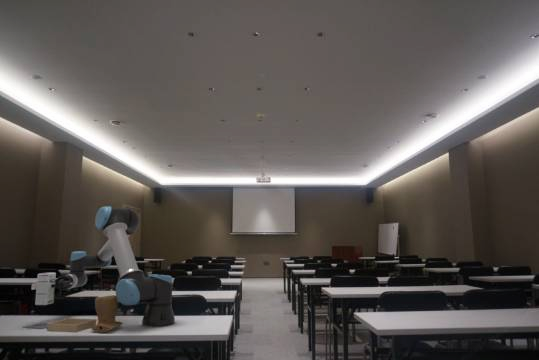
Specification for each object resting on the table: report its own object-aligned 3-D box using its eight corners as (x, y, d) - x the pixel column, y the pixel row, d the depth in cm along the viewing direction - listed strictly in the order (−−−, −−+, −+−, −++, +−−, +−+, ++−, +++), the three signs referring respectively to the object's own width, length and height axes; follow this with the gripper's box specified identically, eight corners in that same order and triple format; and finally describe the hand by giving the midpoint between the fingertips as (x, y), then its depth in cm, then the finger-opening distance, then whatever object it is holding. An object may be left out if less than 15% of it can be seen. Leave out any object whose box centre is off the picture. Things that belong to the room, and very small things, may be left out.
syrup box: (46, 305, 176) (49, 273, 179) (34, 305, 176) (37, 273, 179) (53, 303, 182) (56, 272, 184) (41, 303, 182) (44, 272, 185)
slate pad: (61, 323, 182) (61, 323, 182) (43, 328, 171) (43, 327, 171) (41, 323, 184) (41, 322, 184) (22, 327, 173) (22, 327, 173)
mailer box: (112, 320, 190) (112, 314, 190) (76, 332, 164) (77, 324, 165) (85, 319, 192) (86, 313, 193) (46, 330, 167) (47, 323, 168)
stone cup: (100, 326, 177) (103, 293, 179) (125, 326, 176) (127, 293, 179) (83, 333, 162) (86, 297, 164) (110, 334, 161) (112, 297, 164)
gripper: (83, 289, 198) (58, 295, 175) (48, 289, 198) (18, 295, 175) (84, 274, 199) (60, 278, 176) (49, 274, 199) (20, 278, 176)
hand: (39, 286), depth 176 cm, fingers closed on syrup box, 6 cm apart
